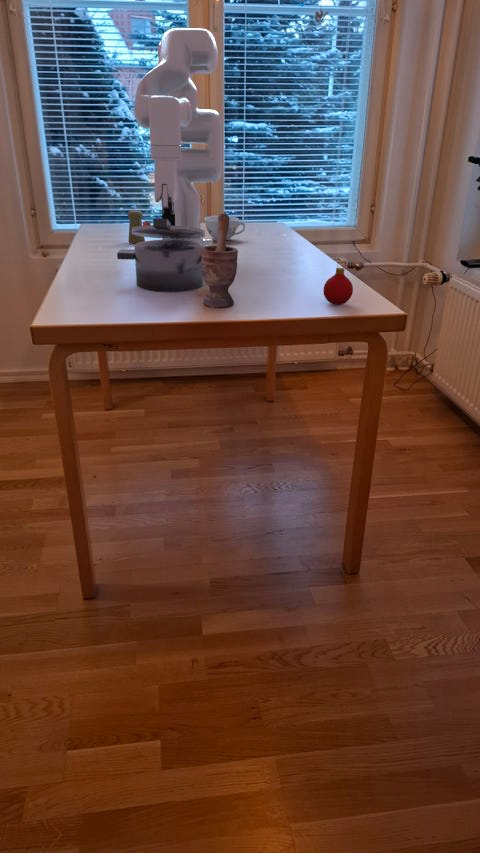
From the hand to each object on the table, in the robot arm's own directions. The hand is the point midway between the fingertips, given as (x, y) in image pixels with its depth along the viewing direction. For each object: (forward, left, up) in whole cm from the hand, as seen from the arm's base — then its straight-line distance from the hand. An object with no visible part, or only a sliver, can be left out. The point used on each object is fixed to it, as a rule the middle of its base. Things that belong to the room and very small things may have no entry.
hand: (169, 229), depth 153 cm
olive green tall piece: (-21, -57, -14) cm, 62 cm away
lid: (+3, +3, 0) cm, 4 cm away
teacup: (-51, -44, -14) cm, 68 cm away
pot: (+1, +1, -14) cm, 14 cm away
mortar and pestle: (+1, +23, -14) cm, 27 cm away
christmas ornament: (-22, +41, -14) cm, 49 cm away
